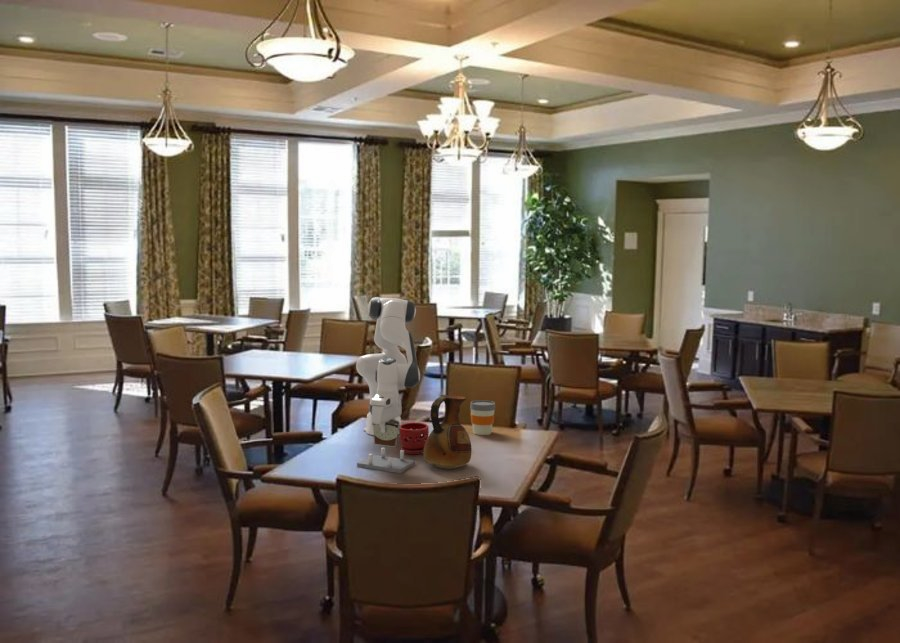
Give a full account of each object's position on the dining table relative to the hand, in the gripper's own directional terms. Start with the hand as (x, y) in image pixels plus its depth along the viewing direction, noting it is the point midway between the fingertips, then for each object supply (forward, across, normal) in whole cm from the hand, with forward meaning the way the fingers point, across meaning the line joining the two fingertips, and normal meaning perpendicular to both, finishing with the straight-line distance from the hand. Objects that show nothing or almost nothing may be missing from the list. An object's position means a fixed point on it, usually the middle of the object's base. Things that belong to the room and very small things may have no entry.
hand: (387, 430), depth 322 cm
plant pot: (+15, -24, +1) cm, 28 cm away
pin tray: (+15, 0, 0) cm, 15 cm away
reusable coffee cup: (+15, -71, +16) cm, 74 cm away
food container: (+6, 0, 0) cm, 6 cm away
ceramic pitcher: (+15, -11, +23) cm, 29 cm away
